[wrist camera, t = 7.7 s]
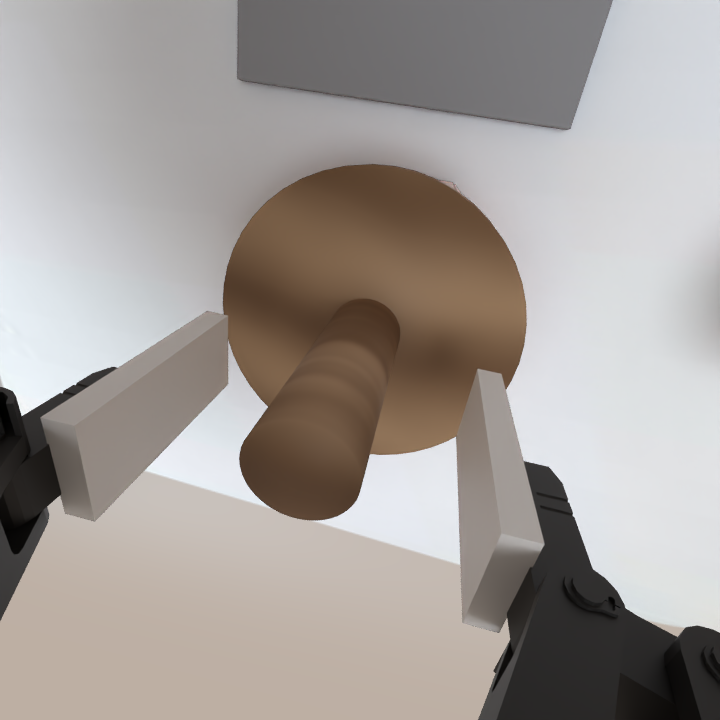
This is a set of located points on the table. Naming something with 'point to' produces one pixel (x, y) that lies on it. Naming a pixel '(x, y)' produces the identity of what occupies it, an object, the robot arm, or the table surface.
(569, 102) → the mat
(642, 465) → the table surface
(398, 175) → the lid
